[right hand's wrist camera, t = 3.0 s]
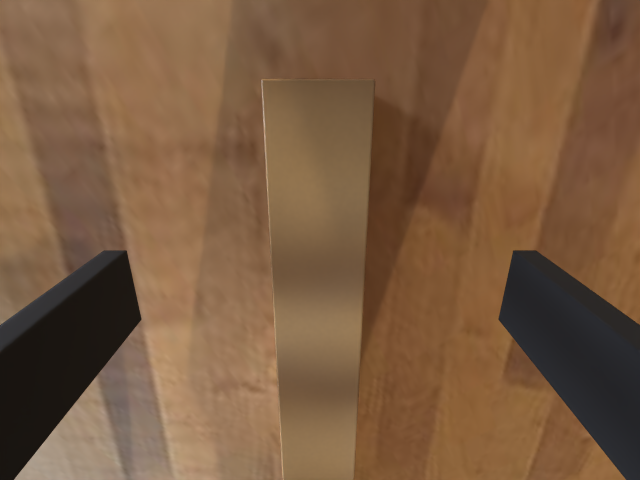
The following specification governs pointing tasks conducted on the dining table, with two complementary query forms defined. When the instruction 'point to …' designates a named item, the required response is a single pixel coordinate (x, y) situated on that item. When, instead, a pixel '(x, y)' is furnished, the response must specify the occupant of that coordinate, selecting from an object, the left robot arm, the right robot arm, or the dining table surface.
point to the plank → (318, 264)
